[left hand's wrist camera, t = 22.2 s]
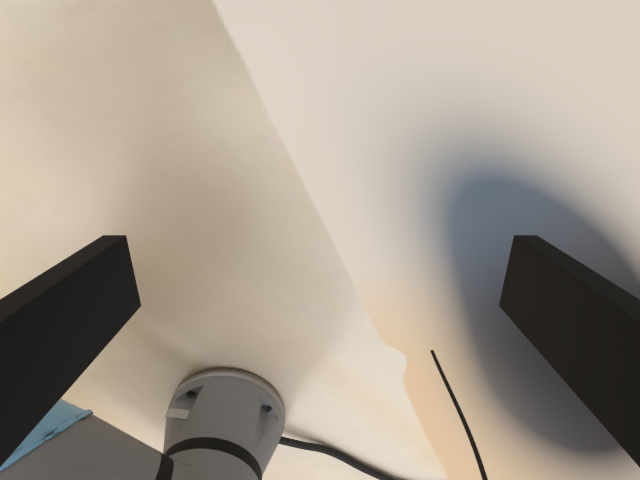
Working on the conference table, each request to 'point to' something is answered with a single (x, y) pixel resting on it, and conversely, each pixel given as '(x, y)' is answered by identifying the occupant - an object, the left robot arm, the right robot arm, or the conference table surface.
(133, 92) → the conference table surface
